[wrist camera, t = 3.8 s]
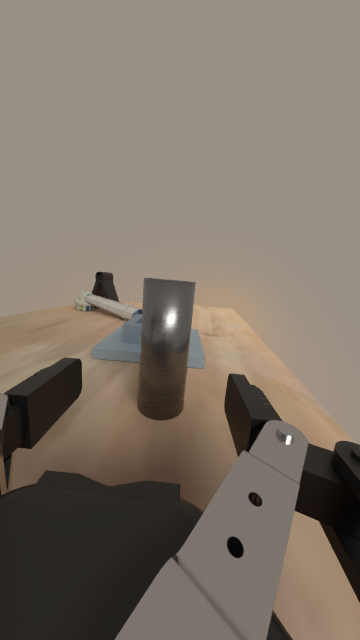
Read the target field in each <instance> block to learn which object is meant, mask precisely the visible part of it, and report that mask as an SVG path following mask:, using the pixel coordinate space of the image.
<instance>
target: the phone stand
mask: <svg viewBox="0 0 360 640" xmlns="http://www.w3.org/2000/svg"><path fill="white" fill-rule="evenodd" d="M92 294H93V295H96V296H100V297H103V298H104V297H105V298H106V299H110V300H113V301H116V302H119V300H118V297H117V294H116V291H115V287H114V284H113V275H112V273H106V272H97V273H96V282H95V285H94V288H93V291H92ZM93 308H98V307H95V306H94V307H93Z"/></svg>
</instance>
